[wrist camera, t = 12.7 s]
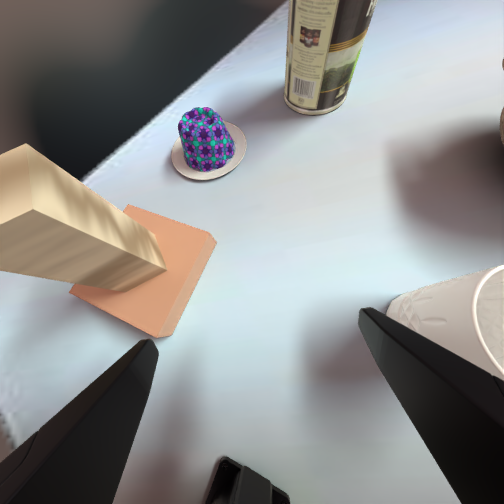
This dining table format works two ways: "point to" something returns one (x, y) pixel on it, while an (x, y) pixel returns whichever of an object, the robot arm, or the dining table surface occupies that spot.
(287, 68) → the coffee can
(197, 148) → the pudding
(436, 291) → the white cup
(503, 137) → the cooking pot
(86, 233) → the maple block
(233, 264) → the dining table surface
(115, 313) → the terracotta base
